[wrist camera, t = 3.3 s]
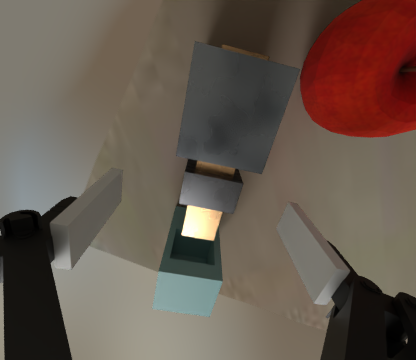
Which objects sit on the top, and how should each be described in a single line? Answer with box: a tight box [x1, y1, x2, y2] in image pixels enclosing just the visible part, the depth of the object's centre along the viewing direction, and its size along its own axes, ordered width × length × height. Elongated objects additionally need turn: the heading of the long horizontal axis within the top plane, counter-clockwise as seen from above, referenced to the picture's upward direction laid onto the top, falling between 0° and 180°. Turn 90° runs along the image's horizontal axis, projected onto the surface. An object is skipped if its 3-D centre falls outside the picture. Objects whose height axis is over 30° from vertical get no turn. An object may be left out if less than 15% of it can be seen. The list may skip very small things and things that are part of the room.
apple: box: [300, 0, 416, 137], centre depth 16 cm, size 10×10×12 cm
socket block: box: [152, 206, 223, 317], centre depth 25 cm, size 6×6×11 cm
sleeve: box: [176, 41, 300, 174], centre depth 18 cm, size 7×6×10 cm
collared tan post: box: [179, 44, 269, 241], centre depth 18 cm, size 16×5×5 cm, turn 167°
